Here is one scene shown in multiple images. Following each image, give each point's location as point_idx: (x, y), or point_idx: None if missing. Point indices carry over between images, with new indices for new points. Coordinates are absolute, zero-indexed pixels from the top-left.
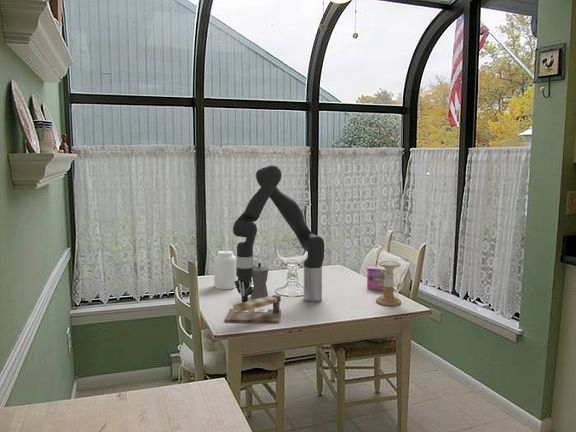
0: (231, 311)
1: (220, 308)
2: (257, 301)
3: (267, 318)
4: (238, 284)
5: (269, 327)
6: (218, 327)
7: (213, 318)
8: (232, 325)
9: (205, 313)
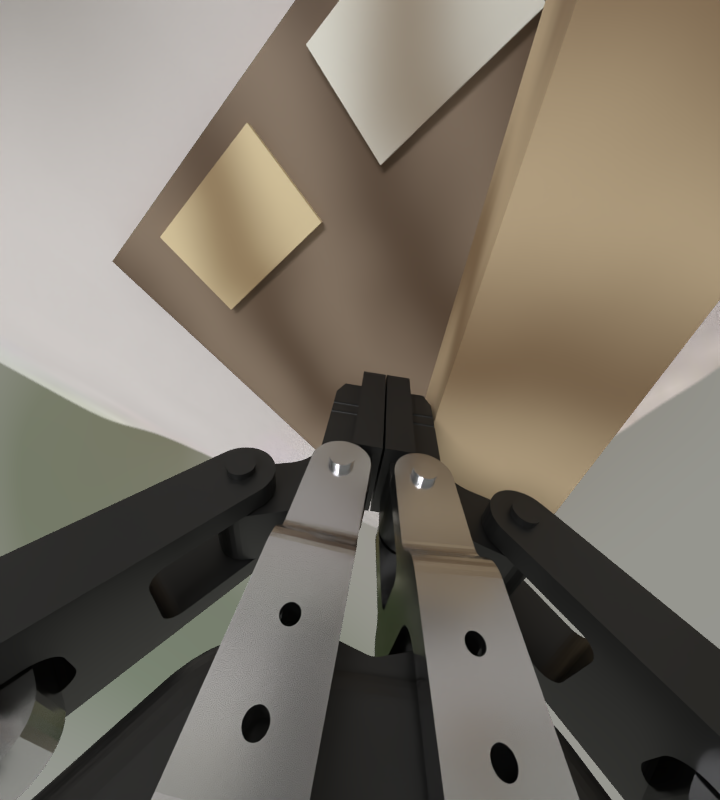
0: (199, 313)
1: (21, 263)
2: (601, 336)
3: None
4: (52, 696)
5: (705, 338)
6: None
7: (224, 439)
8: None
9: (106, 409)
